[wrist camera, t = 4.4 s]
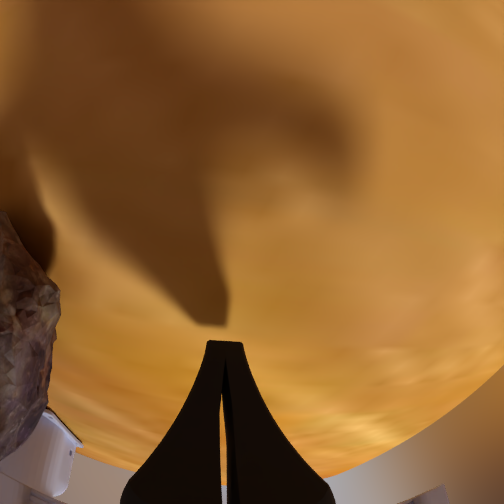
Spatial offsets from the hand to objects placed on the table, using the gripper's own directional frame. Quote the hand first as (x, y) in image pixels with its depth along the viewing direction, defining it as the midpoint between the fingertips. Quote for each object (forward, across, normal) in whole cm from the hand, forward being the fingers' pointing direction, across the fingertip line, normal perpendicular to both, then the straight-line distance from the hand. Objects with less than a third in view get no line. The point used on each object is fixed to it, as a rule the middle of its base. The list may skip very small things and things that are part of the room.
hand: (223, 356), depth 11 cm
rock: (+2, +12, 0) cm, 12 cm away
